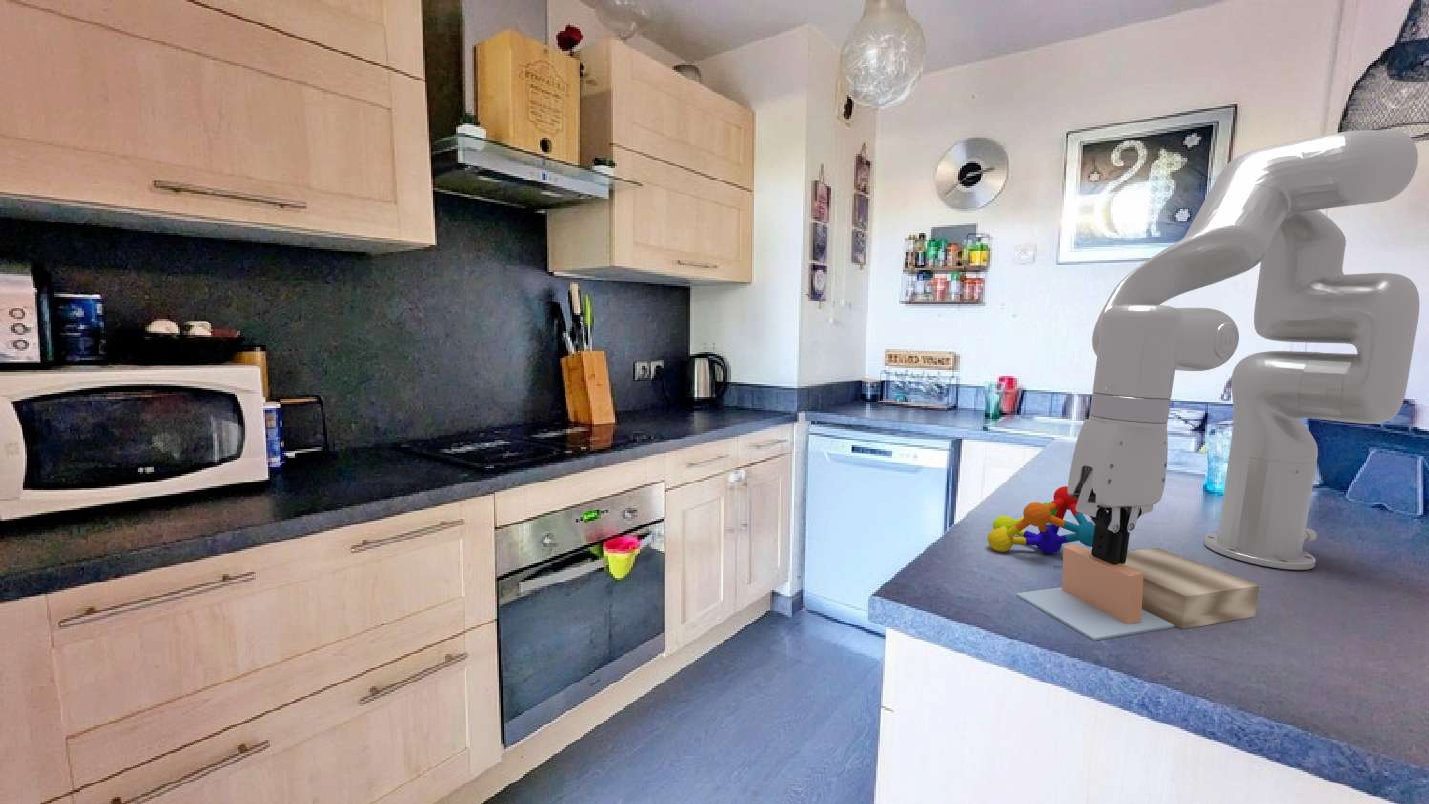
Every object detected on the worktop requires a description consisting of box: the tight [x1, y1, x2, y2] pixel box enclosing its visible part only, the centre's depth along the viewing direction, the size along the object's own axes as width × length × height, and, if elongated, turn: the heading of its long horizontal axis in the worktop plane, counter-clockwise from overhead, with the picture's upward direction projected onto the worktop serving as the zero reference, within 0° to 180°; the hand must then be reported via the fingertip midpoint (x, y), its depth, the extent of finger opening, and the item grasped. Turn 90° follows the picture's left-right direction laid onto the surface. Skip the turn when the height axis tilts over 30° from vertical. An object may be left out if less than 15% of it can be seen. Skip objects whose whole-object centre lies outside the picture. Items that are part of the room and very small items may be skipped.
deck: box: [1124, 547, 1260, 630], centre depth 73 cm, size 12×12×4 cm
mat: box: [1015, 586, 1175, 642], centre depth 69 cm, size 12×11×1 cm
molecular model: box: [987, 485, 1095, 555], centre depth 88 cm, size 15×10×15 cm
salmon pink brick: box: [1061, 543, 1144, 624], centre depth 70 cm, size 6×9×2 cm
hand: (1107, 559), depth 69 cm, fingers closed
